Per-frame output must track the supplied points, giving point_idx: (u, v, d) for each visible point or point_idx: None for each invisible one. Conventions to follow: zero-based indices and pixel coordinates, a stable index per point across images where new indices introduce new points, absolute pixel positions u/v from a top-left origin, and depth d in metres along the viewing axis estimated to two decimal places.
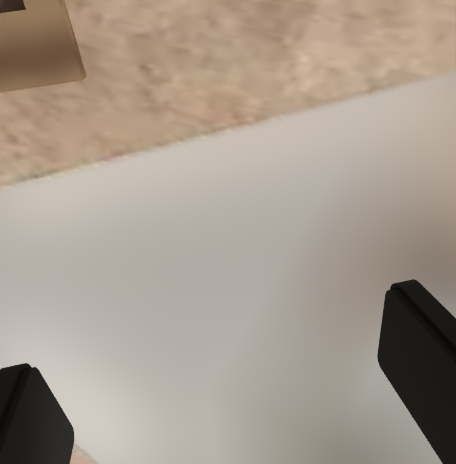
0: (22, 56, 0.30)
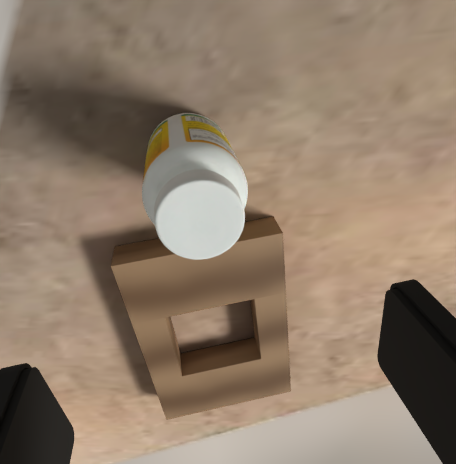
0: (248, 384, 0.33)
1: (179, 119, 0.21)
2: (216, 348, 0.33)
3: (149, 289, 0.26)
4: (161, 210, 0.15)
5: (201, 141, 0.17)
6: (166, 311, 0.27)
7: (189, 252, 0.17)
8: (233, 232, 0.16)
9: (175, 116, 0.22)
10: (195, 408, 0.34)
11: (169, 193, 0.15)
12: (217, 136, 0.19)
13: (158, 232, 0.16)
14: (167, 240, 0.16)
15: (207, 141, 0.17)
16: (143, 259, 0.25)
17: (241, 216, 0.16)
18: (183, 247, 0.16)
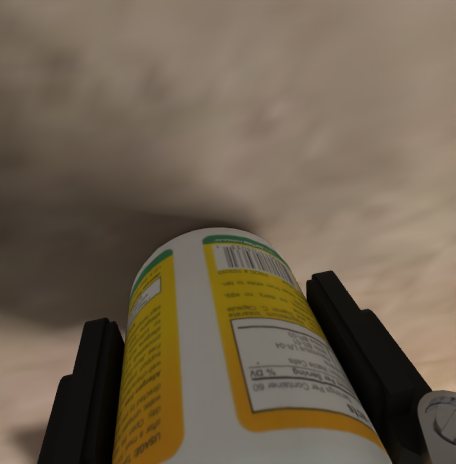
0: None
1: (200, 259, 0.09)
2: None
3: None
4: None
5: (285, 421, 0.06)
6: None
7: None
8: None
9: (189, 242, 0.10)
10: None
11: None
12: (303, 333, 0.08)
13: None
14: None
15: (301, 412, 0.06)
16: None
17: None
18: None
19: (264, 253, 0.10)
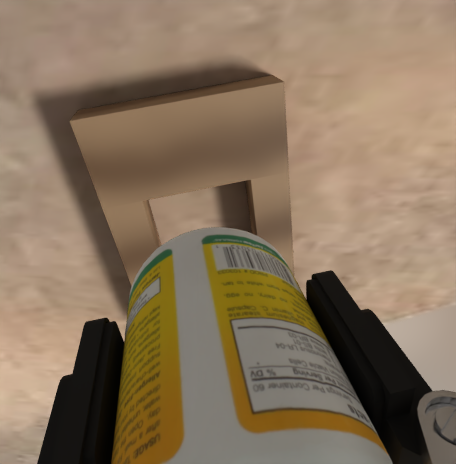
0: None
1: (200, 259, 0.09)
2: None
3: (120, 158, 0.21)
4: None
5: (285, 420, 0.05)
6: (143, 192, 0.22)
7: None
8: None
9: (189, 242, 0.10)
10: None
11: None
12: (303, 333, 0.08)
13: None
14: None
15: (301, 413, 0.06)
16: (110, 113, 0.20)
17: None
18: None
19: (264, 253, 0.10)
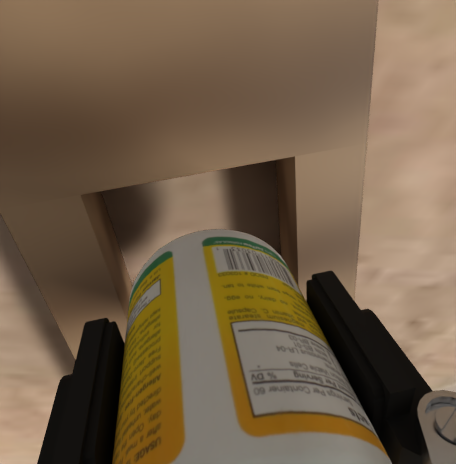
0: None
1: (200, 261, 0.09)
2: None
3: (24, 99, 0.10)
4: None
5: (286, 424, 0.05)
6: (82, 176, 0.11)
7: None
8: None
9: (189, 244, 0.10)
10: None
11: None
12: (303, 336, 0.08)
13: None
14: None
15: (302, 417, 0.06)
16: None
17: None
18: None
19: (264, 255, 0.10)
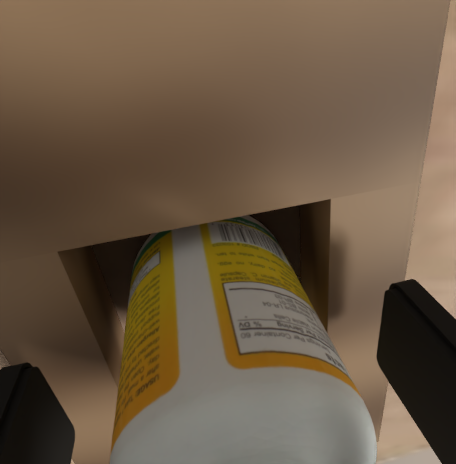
0: None
1: (196, 234, 0.10)
2: None
3: None
4: None
5: (267, 360, 0.06)
6: (58, 229, 0.09)
7: None
8: None
9: None
10: None
11: None
12: (289, 296, 0.08)
13: None
14: None
15: (282, 355, 0.06)
16: None
17: None
18: None
19: (256, 230, 0.11)
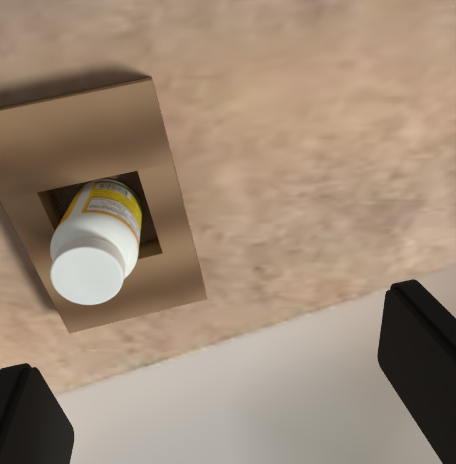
0: (154, 288, 0.30)
1: (91, 187, 0.26)
2: None
3: (9, 152, 0.23)
4: (53, 270, 0.20)
5: (93, 211, 0.22)
6: (36, 184, 0.25)
7: (82, 300, 0.21)
8: (115, 283, 0.21)
9: (90, 183, 0.27)
10: (100, 319, 0.31)
11: (57, 258, 0.20)
12: (115, 202, 0.24)
13: (54, 286, 0.21)
14: (63, 292, 0.21)
15: (98, 211, 0.22)
16: None
17: (119, 271, 0.21)
18: (77, 296, 0.21)
19: (118, 186, 0.27)
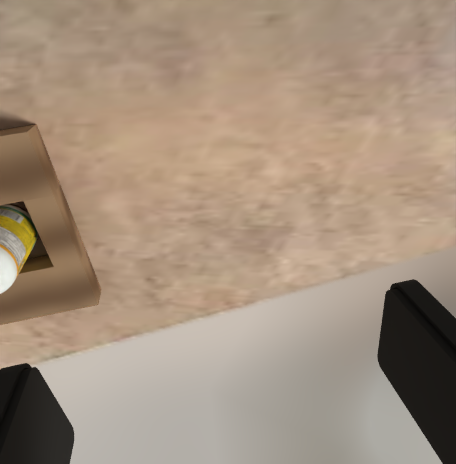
0: (50, 295, 0.36)
1: None
2: None
3: None
4: None
5: None
6: None
7: None
8: None
9: None
10: (4, 318, 0.36)
11: None
12: (0, 228, 0.30)
13: None
14: None
15: None
16: None
17: None
18: None
19: (11, 211, 0.32)
